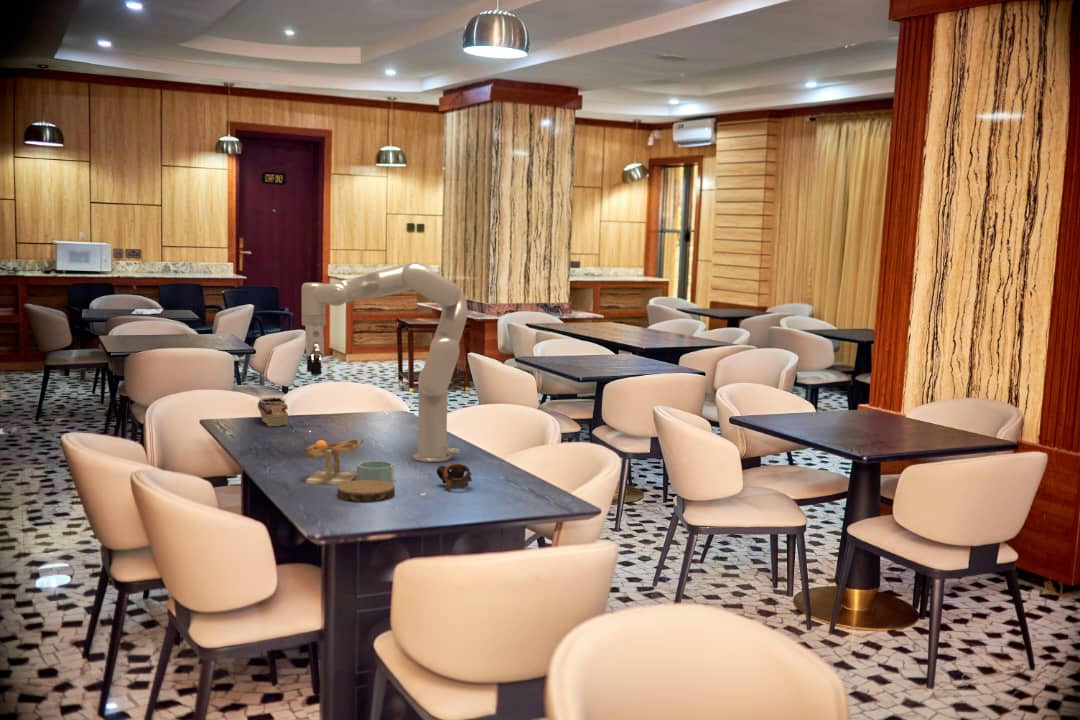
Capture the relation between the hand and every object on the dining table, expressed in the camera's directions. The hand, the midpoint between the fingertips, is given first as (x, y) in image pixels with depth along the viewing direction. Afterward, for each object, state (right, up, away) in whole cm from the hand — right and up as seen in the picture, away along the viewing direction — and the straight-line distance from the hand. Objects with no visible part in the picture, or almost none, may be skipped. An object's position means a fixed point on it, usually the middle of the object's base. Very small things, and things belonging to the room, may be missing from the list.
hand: (314, 372), depth 327 cm
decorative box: (-33, -21, +68) cm, 78 cm away
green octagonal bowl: (+24, -32, -26) cm, 48 cm away
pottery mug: (+48, -34, -32) cm, 67 cm away
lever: (+12, -23, -23) cm, 35 cm away
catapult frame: (+11, -32, -25) cm, 42 cm away
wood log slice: (+25, -35, -44) cm, 61 cm away
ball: (+8, -22, -26) cm, 35 cm away
